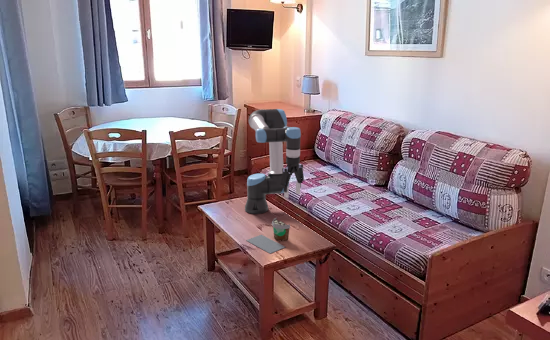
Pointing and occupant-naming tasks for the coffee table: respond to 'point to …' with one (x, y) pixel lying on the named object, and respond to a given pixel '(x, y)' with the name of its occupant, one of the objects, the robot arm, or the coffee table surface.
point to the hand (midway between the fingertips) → (292, 195)
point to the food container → (280, 230)
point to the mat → (265, 244)
